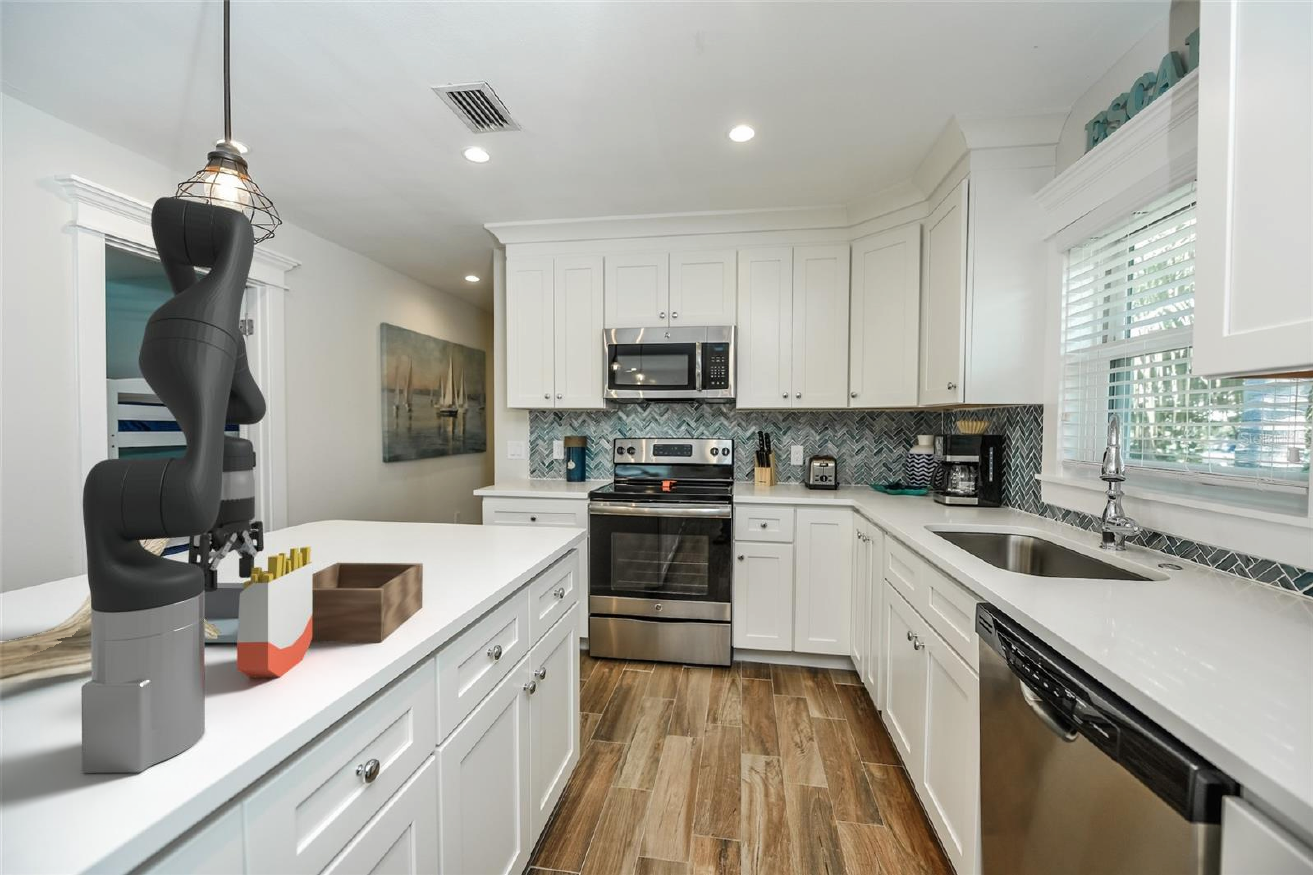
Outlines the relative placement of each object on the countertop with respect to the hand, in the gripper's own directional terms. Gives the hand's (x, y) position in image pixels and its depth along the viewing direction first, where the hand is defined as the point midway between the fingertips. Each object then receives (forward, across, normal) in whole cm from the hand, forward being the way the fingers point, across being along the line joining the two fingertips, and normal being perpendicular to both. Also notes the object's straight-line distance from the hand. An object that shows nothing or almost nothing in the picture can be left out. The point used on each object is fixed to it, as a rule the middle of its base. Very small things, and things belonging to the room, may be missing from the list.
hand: (228, 583), depth 94 cm
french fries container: (+8, -17, -20) cm, 27 cm away
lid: (+7, 0, 0) cm, 7 cm away
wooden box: (+8, +1, -22) cm, 24 cm away
